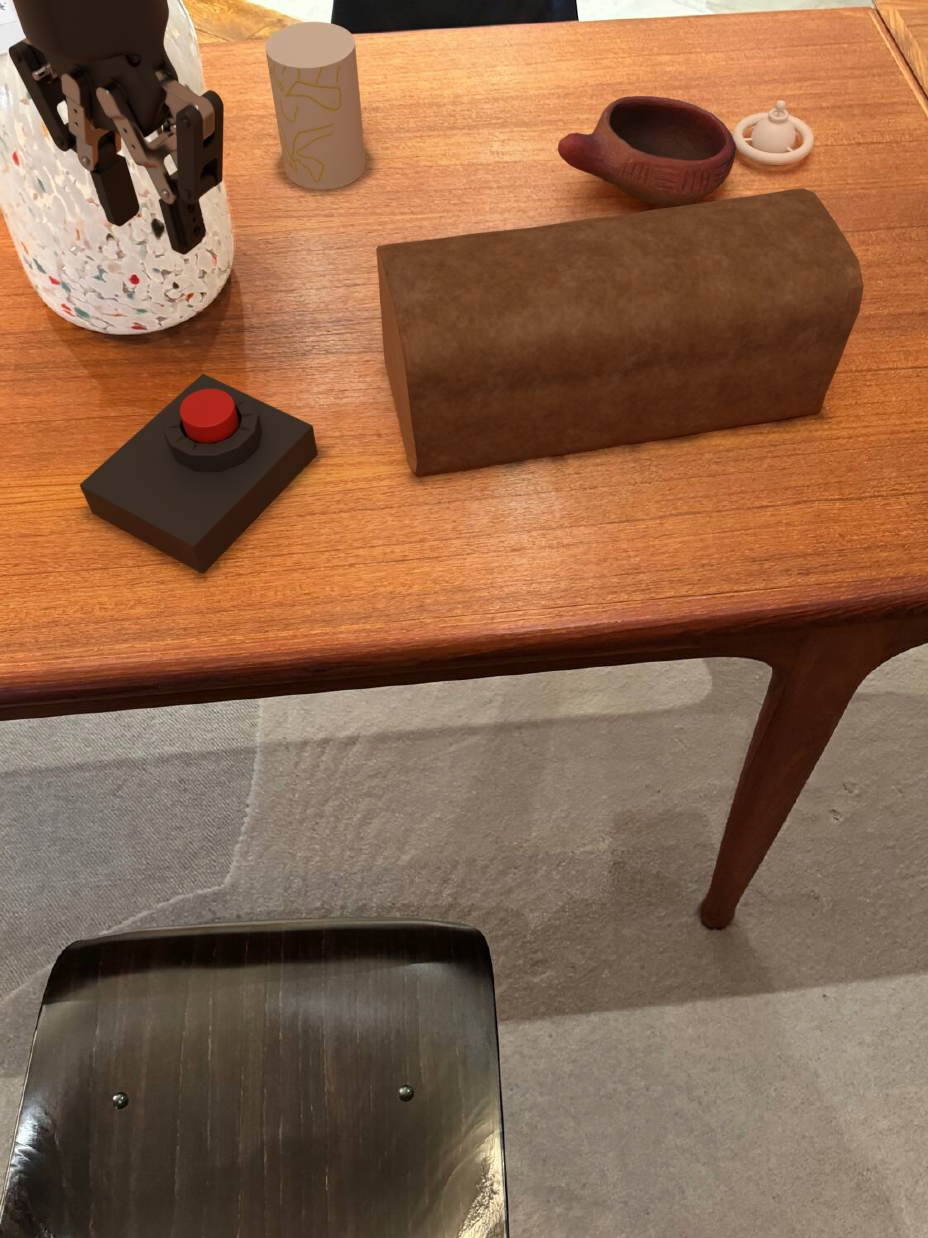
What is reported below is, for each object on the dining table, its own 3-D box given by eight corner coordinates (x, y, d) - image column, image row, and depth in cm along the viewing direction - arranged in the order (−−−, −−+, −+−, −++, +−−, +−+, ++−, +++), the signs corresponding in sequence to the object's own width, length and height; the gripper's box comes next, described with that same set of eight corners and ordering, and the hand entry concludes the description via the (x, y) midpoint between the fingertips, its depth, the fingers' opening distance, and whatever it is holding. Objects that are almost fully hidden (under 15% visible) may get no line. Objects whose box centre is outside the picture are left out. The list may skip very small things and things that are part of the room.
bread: (825, 419, 86) (882, 272, 74) (412, 485, 82) (402, 341, 70) (763, 308, 93) (805, 159, 82) (383, 363, 90) (369, 216, 78)
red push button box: (202, 574, 77) (187, 530, 73) (91, 512, 81) (71, 468, 76) (318, 454, 84) (310, 408, 80) (210, 402, 87) (197, 355, 83)
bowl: (640, 138, 108) (651, 60, 102) (749, 185, 104) (767, 106, 97) (545, 212, 102) (549, 133, 95) (656, 266, 97) (669, 187, 90)
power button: (215, 451, 78) (210, 434, 76) (173, 430, 79) (168, 413, 78) (249, 418, 80) (245, 400, 78) (208, 398, 81) (203, 381, 79)
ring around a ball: (712, 149, 107) (766, 188, 104) (722, 95, 103) (778, 134, 99) (772, 122, 110) (826, 159, 106) (784, 68, 105) (841, 105, 101)
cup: (270, 178, 105) (249, 57, 95) (307, 135, 109) (291, 15, 99) (344, 196, 103) (330, 74, 93) (379, 152, 107) (369, 31, 97)
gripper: (-90, -77, 52) (30, 226, 66) (128, -2, 48) (206, 306, 62) (22, -132, 56) (113, 167, 70) (234, -67, 51) (285, 238, 65)
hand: (156, 231), depth 66 cm, fingers open, 4 cm apart
